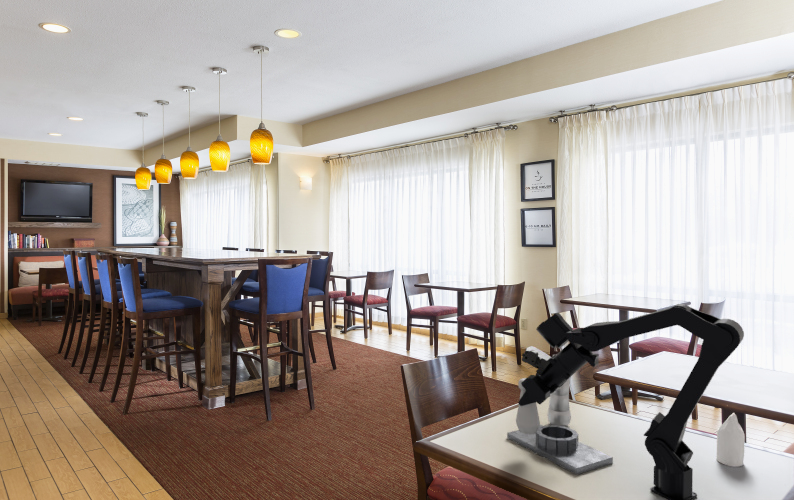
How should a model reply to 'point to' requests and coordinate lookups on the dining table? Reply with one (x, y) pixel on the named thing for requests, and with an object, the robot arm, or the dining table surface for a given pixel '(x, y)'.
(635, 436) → the dining table surface
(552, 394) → the plastic bottle
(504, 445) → the dining table surface
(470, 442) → the dining table surface
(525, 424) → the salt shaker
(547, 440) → the plate with ring
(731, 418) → the white pointed cylinder
